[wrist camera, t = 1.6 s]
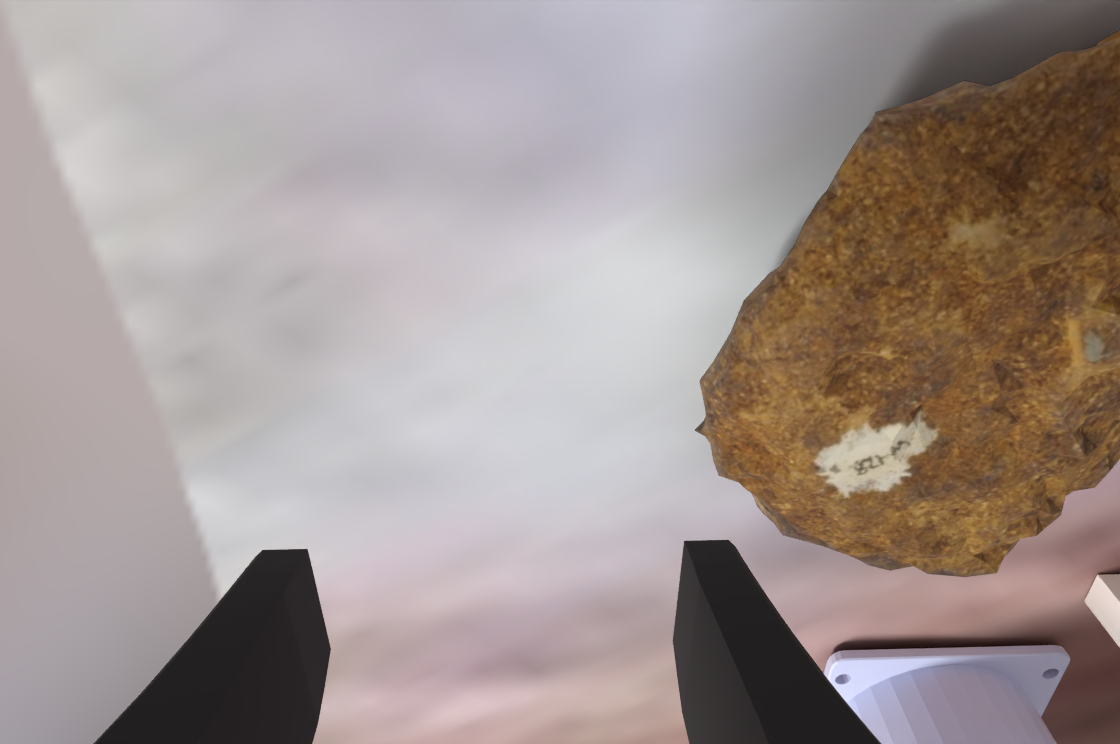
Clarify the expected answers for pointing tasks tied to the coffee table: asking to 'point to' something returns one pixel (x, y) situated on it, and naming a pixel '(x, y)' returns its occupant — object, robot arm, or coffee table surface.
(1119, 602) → the box
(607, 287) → the coffee table surface
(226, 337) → the coffee table surface
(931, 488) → the decorative rock
